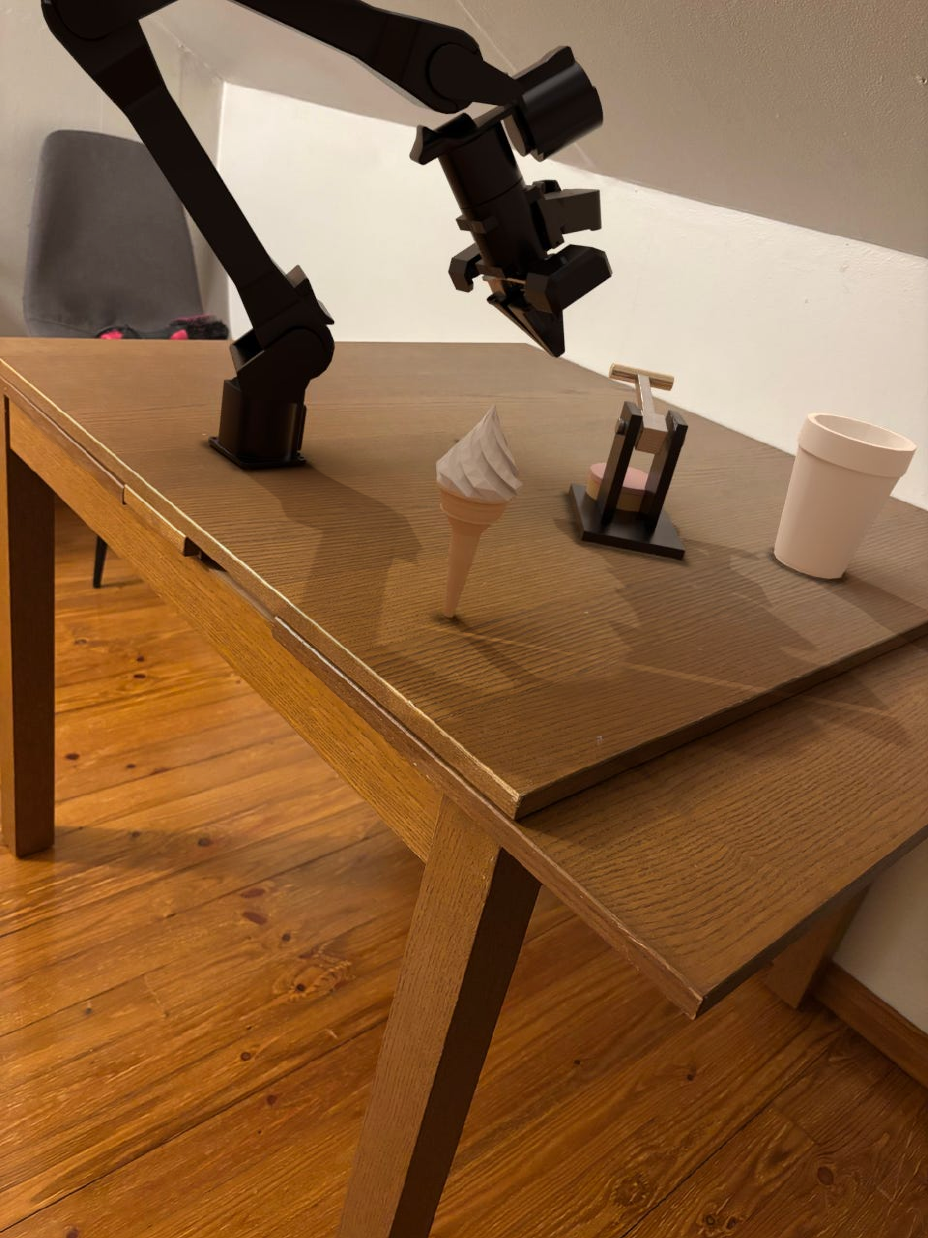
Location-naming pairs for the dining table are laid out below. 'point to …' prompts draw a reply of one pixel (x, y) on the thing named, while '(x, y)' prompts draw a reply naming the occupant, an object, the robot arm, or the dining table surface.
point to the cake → (630, 489)
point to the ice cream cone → (474, 496)
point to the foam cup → (837, 491)
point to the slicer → (651, 522)
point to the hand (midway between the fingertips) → (558, 354)
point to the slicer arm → (646, 404)
